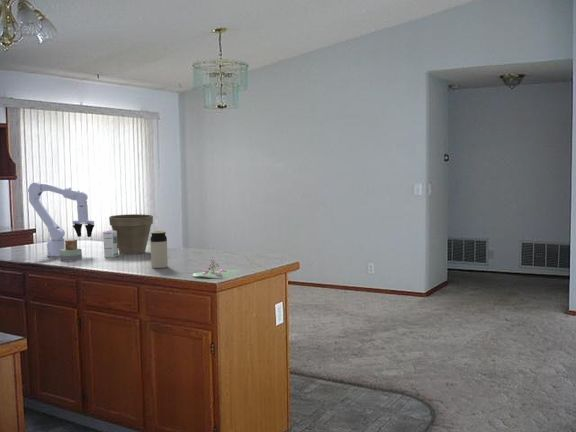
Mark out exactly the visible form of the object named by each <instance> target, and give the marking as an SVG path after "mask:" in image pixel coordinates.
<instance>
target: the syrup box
mask: <svg viewBox="0 0 576 432" xmlns="http://www.w3.org/2000/svg"><path fill="white" fill-rule="evenodd" d="M102 235H103V237H102V238H103V239H102V240H103V255H104V257H105V258H114V257H117V256H119V250H118V243H117V231H115V230H106V231H105V230H104V231H103V232H102Z"/></svg>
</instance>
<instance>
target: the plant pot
mask: <svg viewBox="0 0 576 432" xmlns="http://www.w3.org/2000/svg"><path fill="white" fill-rule="evenodd" d="M108 220H109V225H110V226H111V229H112V230H115V231H117V243H118V254H120V255H137V254H138V255H139V254H143V253H146V249H147V245H148V241H149V235H150V233H151V227H152V225H153V222H154V216H153V215H152V214H140V213H139V214H137V213H135V214H131V213H130V214H117V215H110V216H109V219H108Z"/></svg>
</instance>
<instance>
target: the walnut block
mask: <svg viewBox="0 0 576 432" xmlns="http://www.w3.org/2000/svg"><path fill="white" fill-rule="evenodd" d="M64 242H65V250H74V249H78V240H77V239H66V240H64Z"/></svg>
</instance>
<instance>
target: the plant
mask: <svg viewBox="0 0 576 432" xmlns="http://www.w3.org/2000/svg"><path fill="white" fill-rule="evenodd" d="M210 262H211V264H209V267H208V268H207V269H208V270H207V269H204V270H203V271H201V272H194V273H192V276H191V277H194V278H205V279H225V278H230V277H233V276H235V275H237V274H239V273H240V272H239V270H240V269H224V268H222V269H219V270H215V269H216V268H217V267H220V265H219V263H216V261H215V260H214V257H212V259H210ZM238 272H239V273H238Z"/></svg>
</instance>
